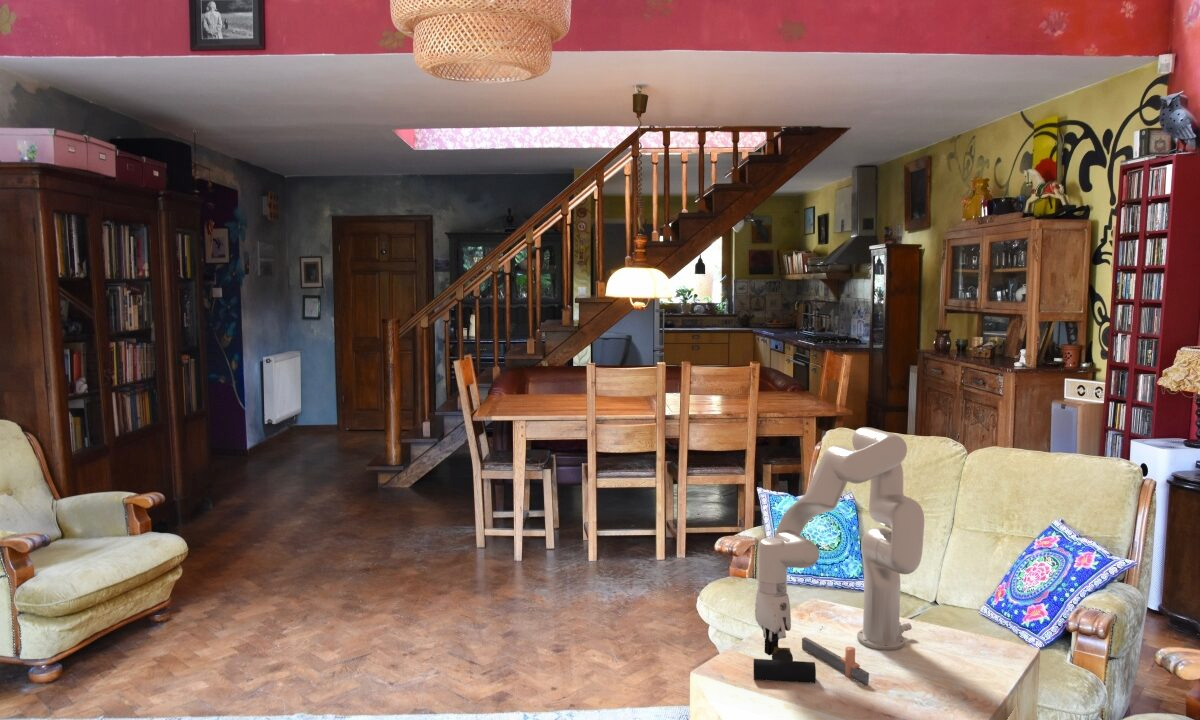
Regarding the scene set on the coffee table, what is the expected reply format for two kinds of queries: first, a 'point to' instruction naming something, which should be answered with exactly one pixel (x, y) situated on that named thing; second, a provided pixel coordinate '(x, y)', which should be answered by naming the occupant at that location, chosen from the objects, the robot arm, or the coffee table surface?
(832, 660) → the guide rail
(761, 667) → the pipe connector
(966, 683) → the coffee table surface
